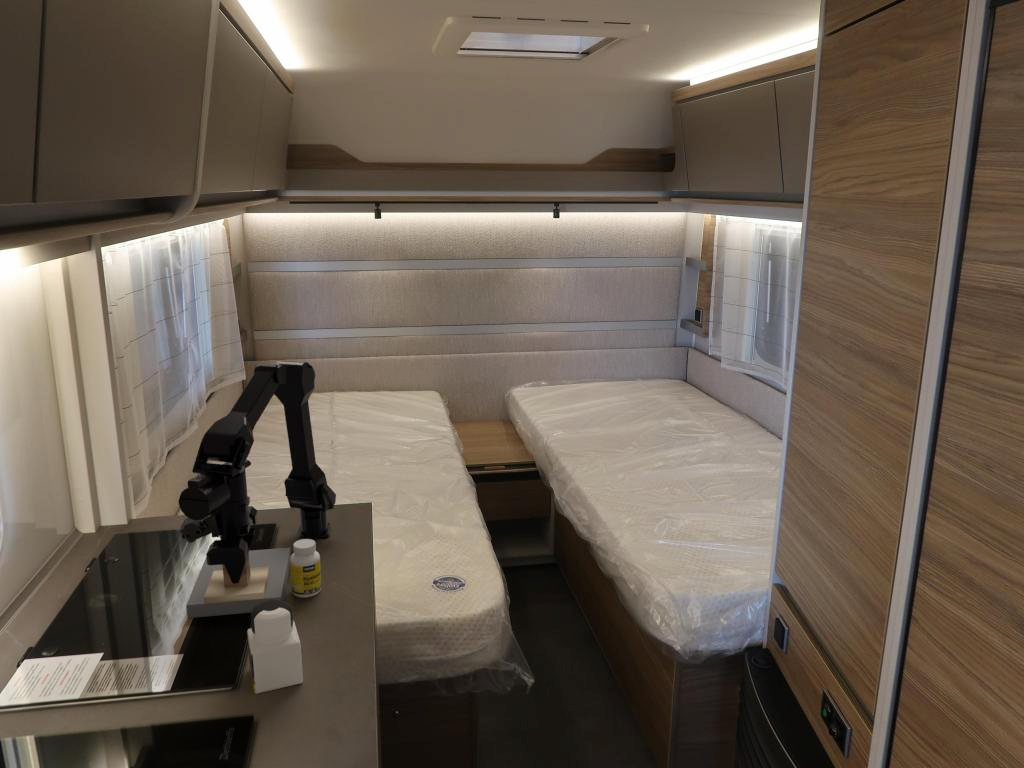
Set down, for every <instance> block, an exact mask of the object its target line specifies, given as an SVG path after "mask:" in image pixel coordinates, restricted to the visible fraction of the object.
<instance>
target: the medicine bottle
mask: <svg viewBox="0 0 1024 768" xmlns="http://www.w3.org/2000/svg"><path fill="white" fill-rule="evenodd" d="M293 615H294V614H293V606H292V605H291V603H289V602H287V601H285V600H284V601H282V600H270V601H266V602H263V603H260V604H258V605H257V606H256V607H254V609H253V610H252V611H251V613H250V622H251V623H250V624H251V626H250V627H251V628H248V629H247V630H246V631H247V632H246V635H247V645H248V656H249V667H250V673H251V674H250V675H251V681H252V686H253V692H254V694H261V693H265V692H270V691H273V690H279V689H283V688H287V687H292V686H296V685H300V684H302V683H303V681H304V677H303V661H302V660H303V659H302V648H301V645H302V644H301V640H300V637H299V633H298V630H297V627H296V624H295V620H294V617H293Z"/></svg>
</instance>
